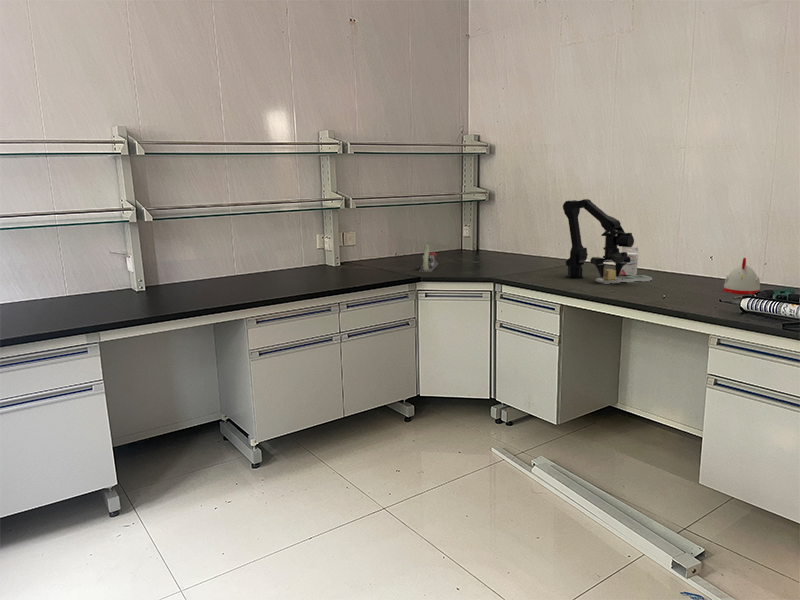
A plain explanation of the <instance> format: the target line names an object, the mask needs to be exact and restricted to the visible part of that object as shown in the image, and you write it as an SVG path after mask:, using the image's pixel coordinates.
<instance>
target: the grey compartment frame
mask: <svg viewBox="0 0 800 600" xmlns="http://www.w3.org/2000/svg"><path fill="white" fill-rule="evenodd" d="M622 279H623V280H622ZM650 280H652V281H653V277H652V276H648V275H644V274H643V275H640V274H637V275H633V276H618V277H616V278H615V280H608V281H607V280H604V277H603V278H601V277H598V278H595V282H597V283H600V284H604V285H608V284H610V283H612V284H621V283H620V282H627V283H635V282H634V281H642V282H651V281H650Z"/></svg>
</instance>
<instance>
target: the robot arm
mask: <svg viewBox="0 0 800 600" xmlns="http://www.w3.org/2000/svg"><path fill="white" fill-rule="evenodd" d="M562 209H563V212H564V215H565V216H566V218H567V220H568V226H569V234H570V241H571V249H570V250H569V251H570V252H569V258H568V259H567V260H566V261H565V266H567V275H565V277H567V278H570V279H580V278H584V276H583V270H584V269H583V265H584V264H585V262H586V260H587V259H588V255H589V254H588V248H587V247H584V246H583V243H582V236H581V228H580V222H579V221H580V220H579V215H580V212H581V209H584V210H586V211H587V213H589V214H590V215H591V216H592V217H594V219H596V220H597V221H598V222H599V223H600V225H601V227H602V228H603V230H604V232H603V233H601V235H600V236H601V237H605V238H604V239H605V240H604V242H605V243H604V247H603V250H604V255H603V256H602V257H599V256H595V257H594V256H592V257H591V258H590V264H592V265H594V266H595V268H597V271H598V273H599V276H600V278H604V270H605V266H606V264H604V263H611V262H613V263H614V264H615V270H616V277H620V275H619V273H620V271H621V269H622V267H623V266H624V265H625V264H627V263H630V261H631V259H630V257H629V256H627V252H622V251H621V252H622V253H621V252H620V248H619V247H621V248H622V247H634V246H633V245H634V244H635V239H634V236H633V233H632V232H625V231H624V229H623V227H622V225H621V222H620V220H619V219H617V218H616V217H614V216H610V215H609V214H607V213H605V212H604V211H603V210H602V209H601V208H599V207H598V206H597V205H596V204H595V203H594V202H593V201H592V200H590V199H588V198H586V199H585V198H584V199H579V200H574V199H573V200H565V201H564V203H563V205H562Z"/></svg>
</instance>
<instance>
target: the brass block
mask: <svg viewBox="0 0 800 600" xmlns="http://www.w3.org/2000/svg"><path fill="white" fill-rule="evenodd" d="M603 278H604V280H607V281H608V280H615V278H616V269H611V268H610V269H609V268H607V269H604V271H603Z"/></svg>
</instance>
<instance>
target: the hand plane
mask: <svg viewBox="0 0 800 600" xmlns="http://www.w3.org/2000/svg"><path fill="white" fill-rule="evenodd" d="M436 258H437V253H435V252H434V251H430V246H429V245H428V244H425V245H424V251H423V255H422V261H423V262H422V264H421V266H420V269H419V270H418V272H419V273H431V272H433V271H434V269H435V268H436V267H438V265H439V262H438V261H437V260H435V259H436Z"/></svg>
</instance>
